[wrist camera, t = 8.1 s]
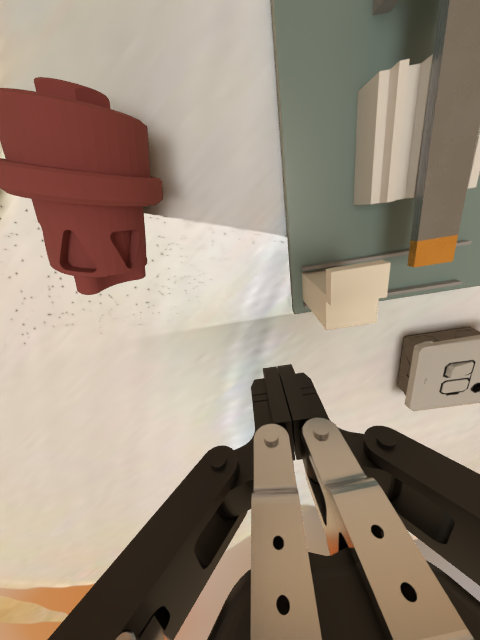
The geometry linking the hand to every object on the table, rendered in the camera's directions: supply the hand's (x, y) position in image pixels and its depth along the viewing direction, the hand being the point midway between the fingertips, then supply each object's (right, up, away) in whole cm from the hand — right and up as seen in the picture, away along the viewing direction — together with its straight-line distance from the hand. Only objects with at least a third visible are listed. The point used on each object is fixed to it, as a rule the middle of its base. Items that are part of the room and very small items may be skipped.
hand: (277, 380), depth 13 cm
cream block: (+7, +7, +12) cm, 16 cm away
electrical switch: (+26, 0, +18) cm, 32 cm away
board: (+12, +17, +9) cm, 23 cm away
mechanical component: (-13, +15, +10) cm, 22 cm away
